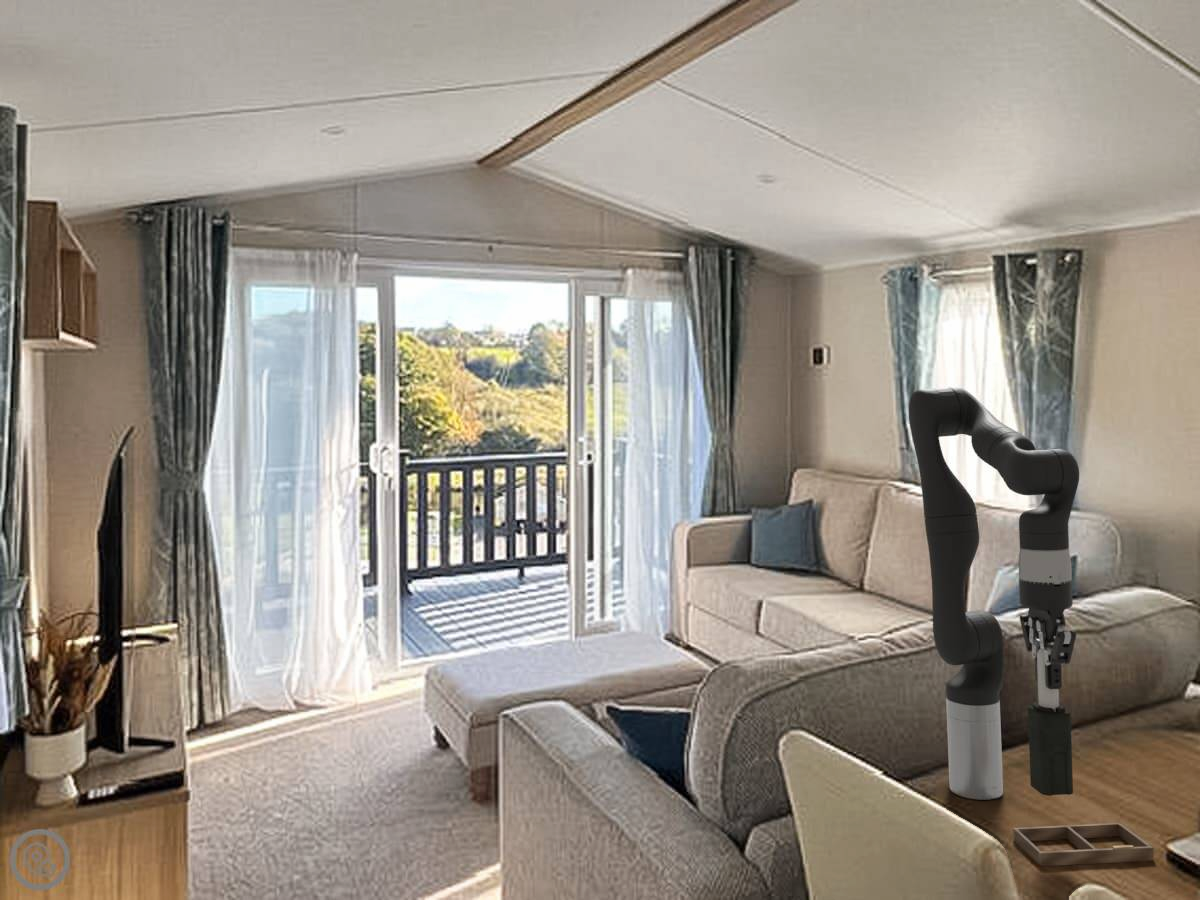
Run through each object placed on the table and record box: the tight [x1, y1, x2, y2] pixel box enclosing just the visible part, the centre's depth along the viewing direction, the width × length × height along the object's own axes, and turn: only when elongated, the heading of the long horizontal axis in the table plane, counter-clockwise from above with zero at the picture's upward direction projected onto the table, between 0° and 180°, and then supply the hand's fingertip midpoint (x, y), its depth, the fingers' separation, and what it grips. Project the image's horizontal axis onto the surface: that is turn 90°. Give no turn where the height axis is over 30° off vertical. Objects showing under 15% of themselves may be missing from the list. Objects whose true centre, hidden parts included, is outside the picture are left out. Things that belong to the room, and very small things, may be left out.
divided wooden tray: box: [1012, 822, 1155, 867], centre depth 146 cm, size 18×9×2 cm, turn 91°
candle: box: [1027, 643, 1074, 797], centre depth 145 cm, size 5×5×25 cm
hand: (1048, 684), depth 145 cm, fingers closed on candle, 2 cm apart
